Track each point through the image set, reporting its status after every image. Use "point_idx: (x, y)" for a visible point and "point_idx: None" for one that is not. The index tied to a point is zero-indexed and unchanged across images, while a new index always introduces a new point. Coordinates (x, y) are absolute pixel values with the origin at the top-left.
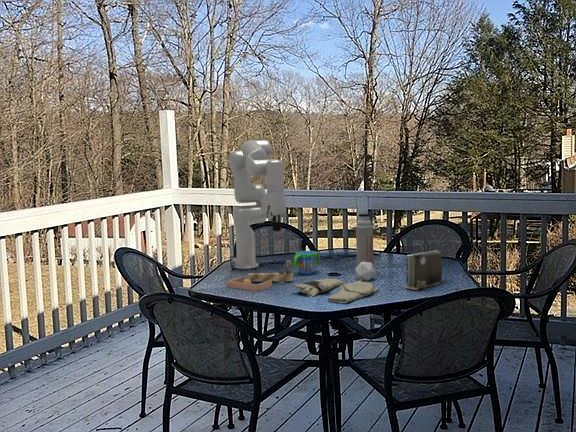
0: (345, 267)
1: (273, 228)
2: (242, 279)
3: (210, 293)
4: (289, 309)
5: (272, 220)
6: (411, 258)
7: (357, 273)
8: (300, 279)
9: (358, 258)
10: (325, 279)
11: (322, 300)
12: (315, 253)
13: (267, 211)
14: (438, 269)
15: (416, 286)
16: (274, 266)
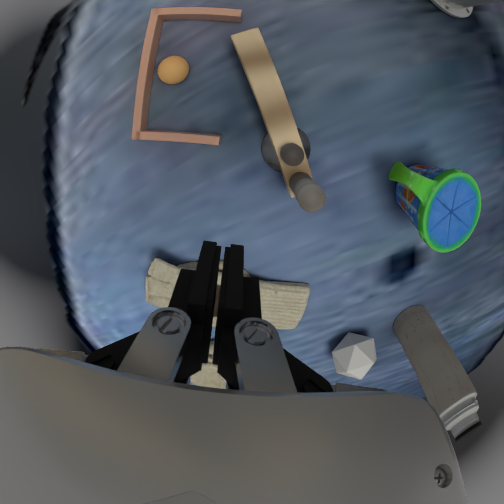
0: (464, 261)
1: (180, 270)
2: (234, 18)
3: (79, 31)
4: (63, 292)
5: (130, 343)
6: None
7: (344, 344)
8: (334, 197)
9: (415, 340)
10: (286, 298)
11: (142, 326)
12: (439, 251)
13: (13, 420)
14: None
15: None
16: (470, 64)
